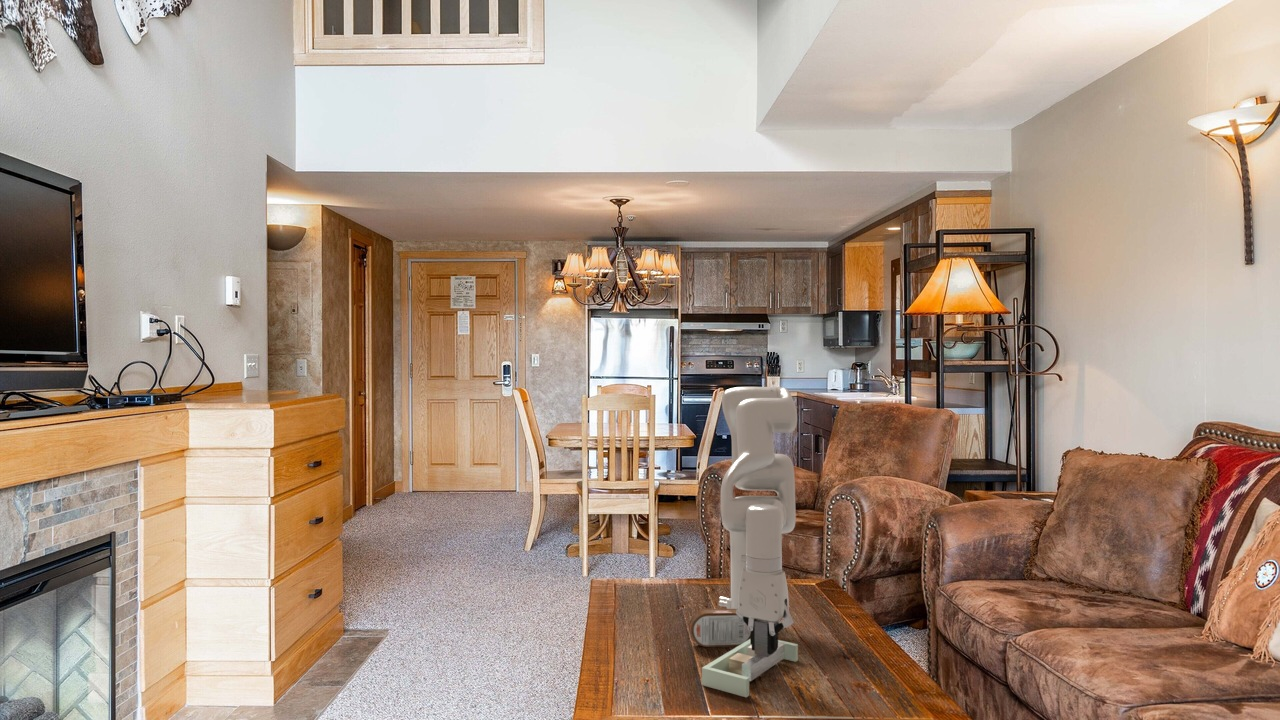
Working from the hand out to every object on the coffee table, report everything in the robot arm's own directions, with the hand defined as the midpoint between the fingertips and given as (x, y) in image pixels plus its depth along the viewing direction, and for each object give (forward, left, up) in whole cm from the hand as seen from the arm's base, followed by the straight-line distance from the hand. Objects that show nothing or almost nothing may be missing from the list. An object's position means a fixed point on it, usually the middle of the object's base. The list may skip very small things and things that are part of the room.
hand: (764, 649), depth 164 cm
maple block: (-3, -4, -5) cm, 7 cm away
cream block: (-3, +4, -5) cm, 7 cm away
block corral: (-1, -1, -5) cm, 5 cm away
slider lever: (0, 0, -4) cm, 4 cm away
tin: (-15, +9, -5) cm, 19 cm away
